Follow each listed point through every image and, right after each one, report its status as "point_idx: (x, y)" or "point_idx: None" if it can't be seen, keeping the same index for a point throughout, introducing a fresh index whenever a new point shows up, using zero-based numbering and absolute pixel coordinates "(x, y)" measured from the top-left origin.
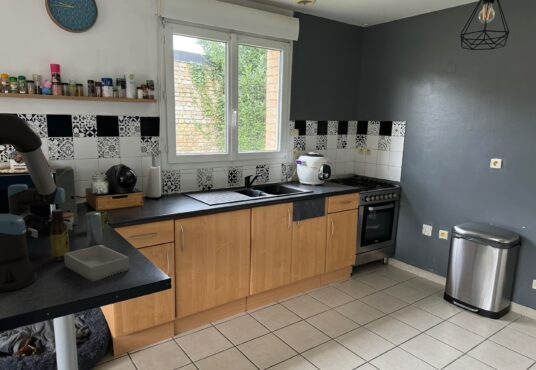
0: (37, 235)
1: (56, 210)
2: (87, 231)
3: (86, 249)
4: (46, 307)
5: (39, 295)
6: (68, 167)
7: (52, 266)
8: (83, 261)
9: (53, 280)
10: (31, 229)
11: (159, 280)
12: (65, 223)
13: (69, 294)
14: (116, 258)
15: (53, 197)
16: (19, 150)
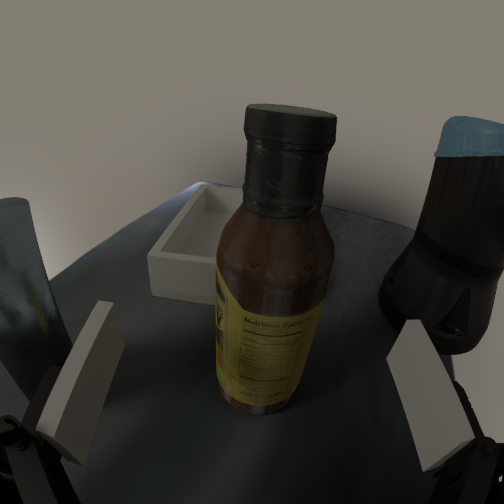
0: (394, 348)
1: (299, 108)
2: (51, 328)
3: (210, 259)
4: (371, 217)
5: (378, 241)
6: None
7: (318, 341)
8: None
9: (345, 266)
10: (447, 377)
11: (211, 183)
12: (81, 387)
13: (335, 219)
14: (194, 215)
15: None
16: None
